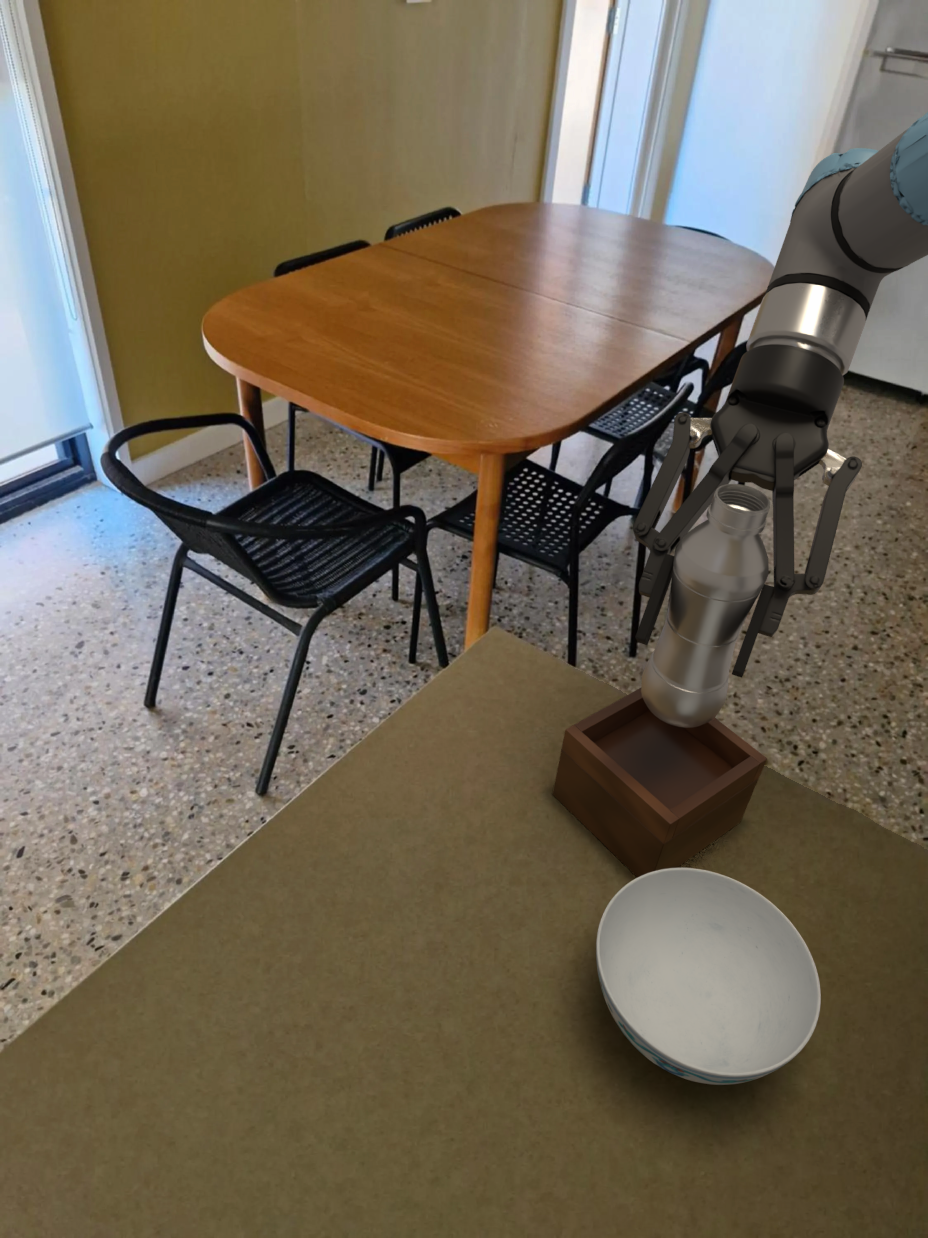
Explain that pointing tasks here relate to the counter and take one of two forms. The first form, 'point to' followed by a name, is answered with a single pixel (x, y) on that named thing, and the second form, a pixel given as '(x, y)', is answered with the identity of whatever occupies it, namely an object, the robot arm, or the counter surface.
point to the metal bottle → (708, 608)
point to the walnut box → (654, 783)
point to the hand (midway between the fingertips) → (688, 657)
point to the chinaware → (706, 976)
